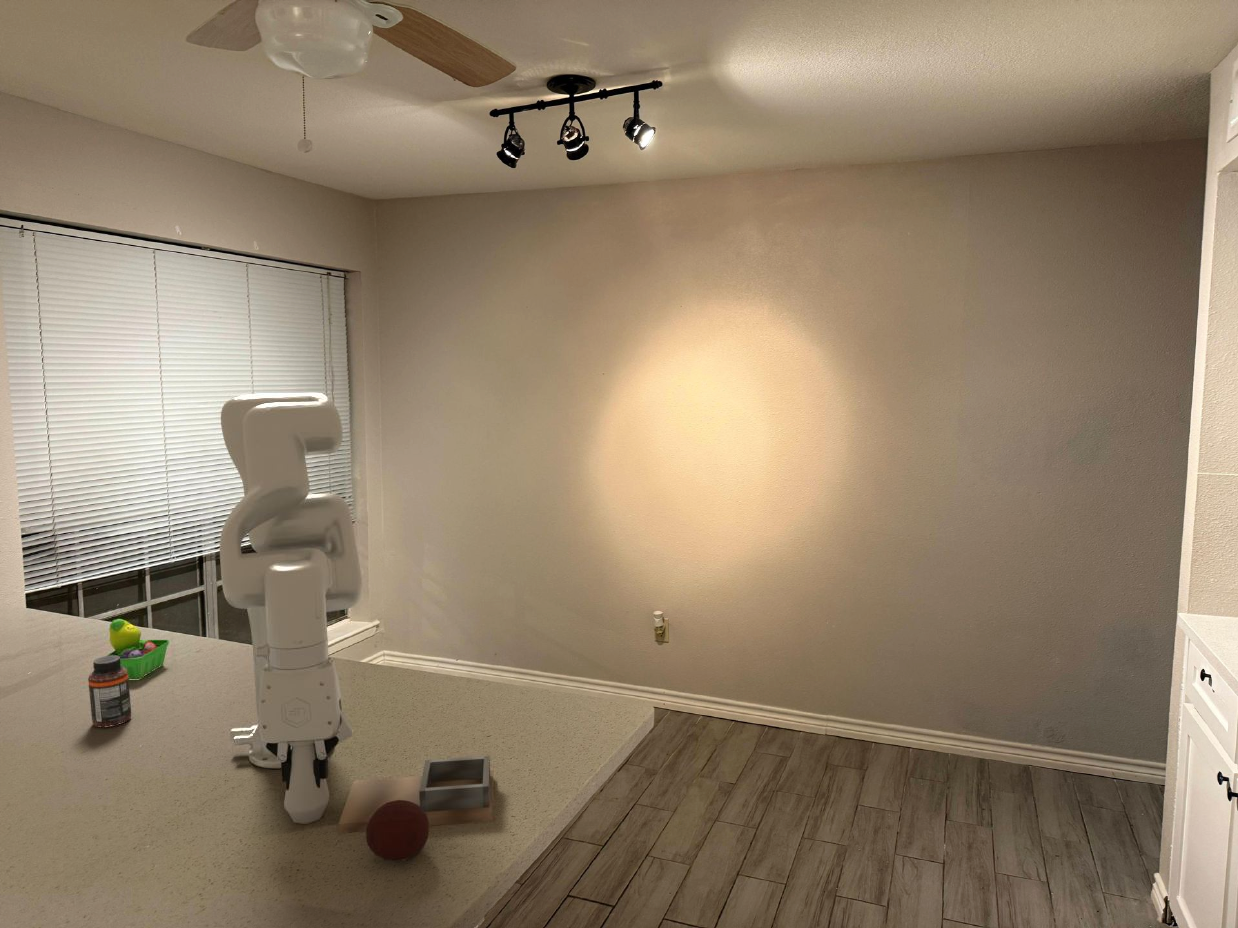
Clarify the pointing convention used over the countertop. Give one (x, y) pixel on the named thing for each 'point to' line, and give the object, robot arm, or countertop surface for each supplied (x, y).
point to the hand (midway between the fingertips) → (305, 783)
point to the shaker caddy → (427, 793)
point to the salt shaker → (305, 785)
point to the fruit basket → (135, 649)
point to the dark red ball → (397, 830)
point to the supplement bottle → (109, 692)
